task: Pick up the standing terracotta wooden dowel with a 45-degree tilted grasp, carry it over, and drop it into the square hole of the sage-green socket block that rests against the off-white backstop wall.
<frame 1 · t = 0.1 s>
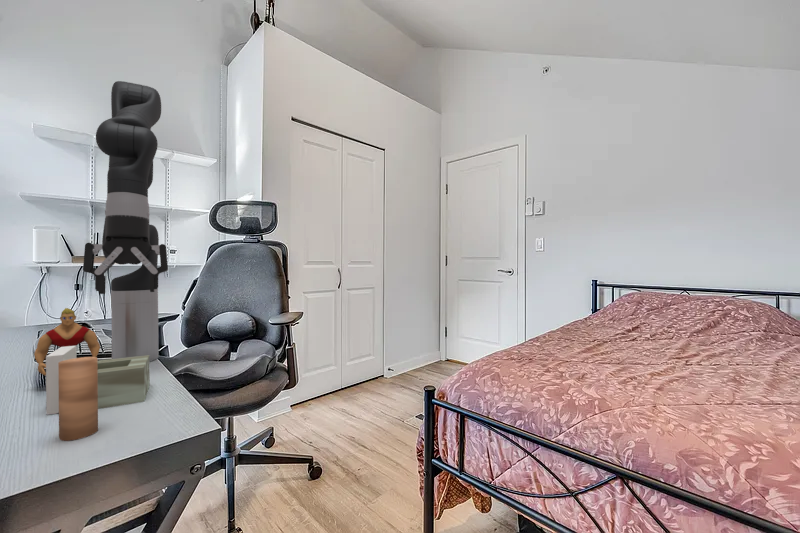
hand: (127, 292, 77), 17 cm above the table, tool pointing down, fingers open, 8 cm apart
backstop wall: (62, 405, 60), on the table
dowel: (79, 433, 50), on the table
action figure: (68, 386, 71), on the table
socket block: (112, 399, 64), on the table
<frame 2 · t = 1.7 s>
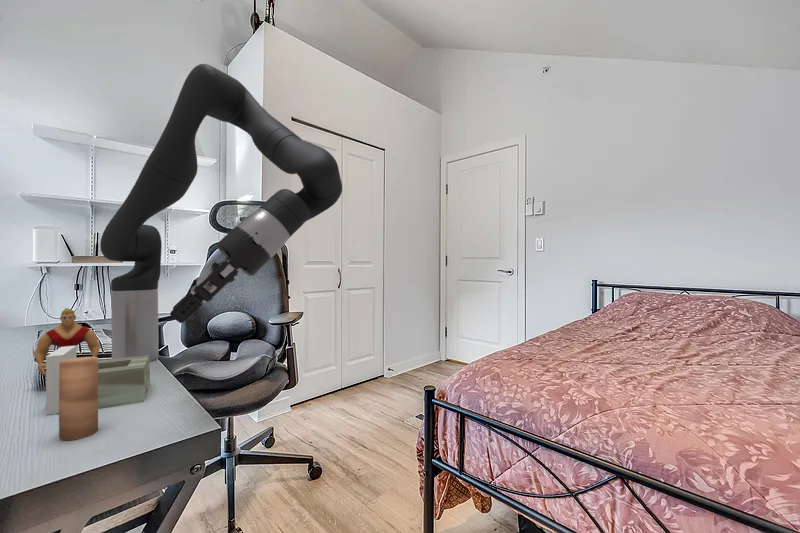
hand: (176, 315, 56), 15 cm above the table, tool tilted 45°, fingers open, 8 cm apart
nothing on the table moved.
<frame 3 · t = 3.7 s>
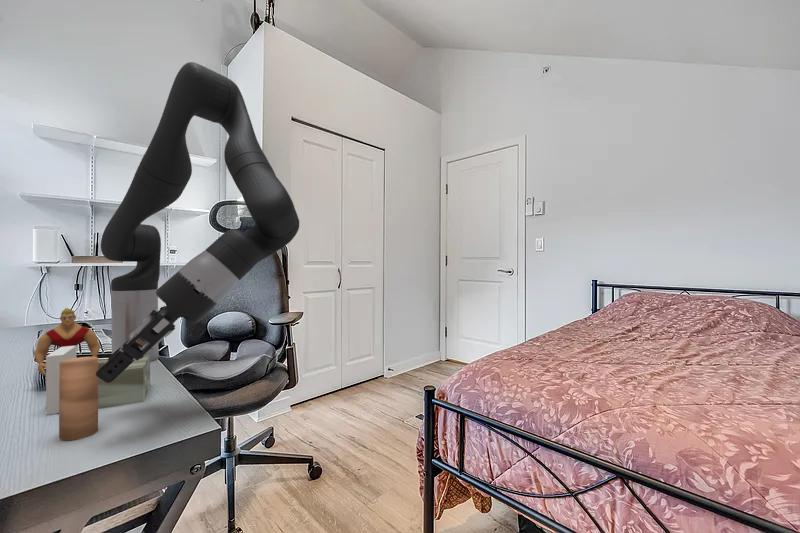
hand: (107, 370, 52), 8 cm above the table, tool tilted 45°, fingers open, 8 cm apart
nothing on the table moved.
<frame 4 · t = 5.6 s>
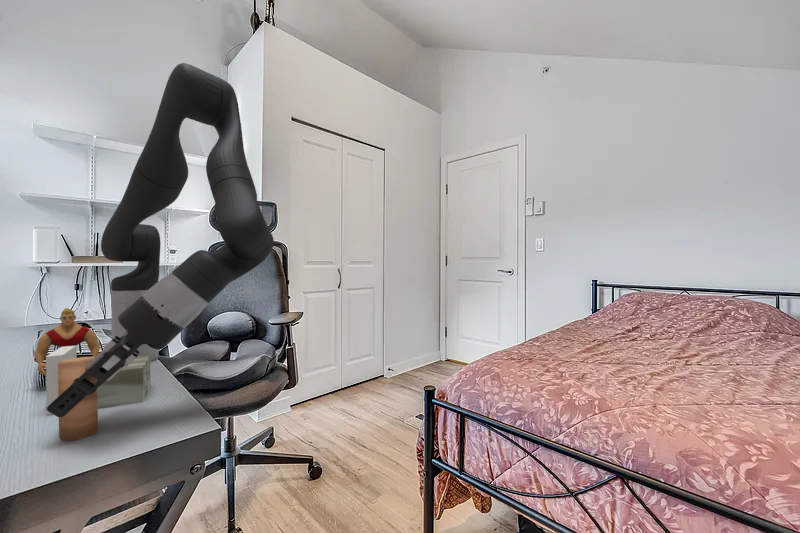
hand: (59, 406, 49), 4 cm above the table, tool tilted 45°, fingers closed on dowel, 4 cm apart
dowel: (79, 433, 50), on the table, touching gripper
everything else where it was.
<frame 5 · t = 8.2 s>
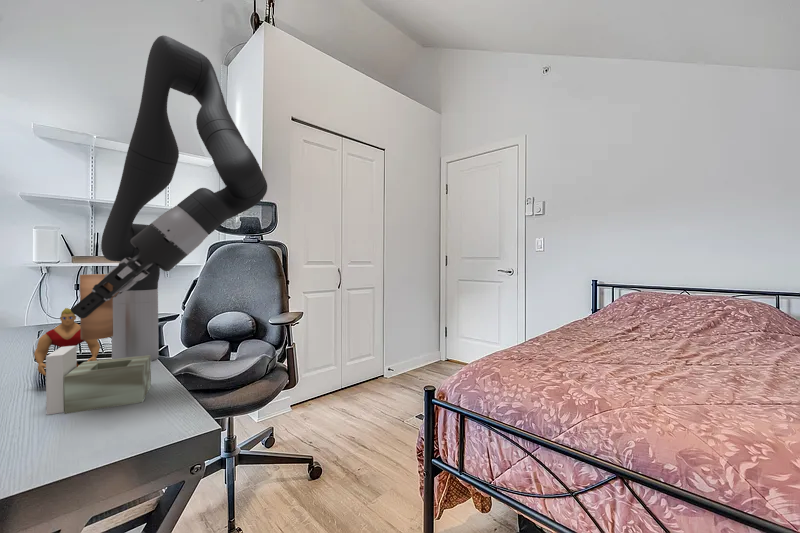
hand: (81, 312, 57), 16 cm above the table, tool tilted 45°, fingers closed on dowel, 4 cm apart
dowel: (97, 337, 58), point 12 cm above the table, touching gripper
everything else where it was.
when the fingers open (9 cm above the table, at t = 10.9 s): dowel drops 3 cm, resting on socket block.
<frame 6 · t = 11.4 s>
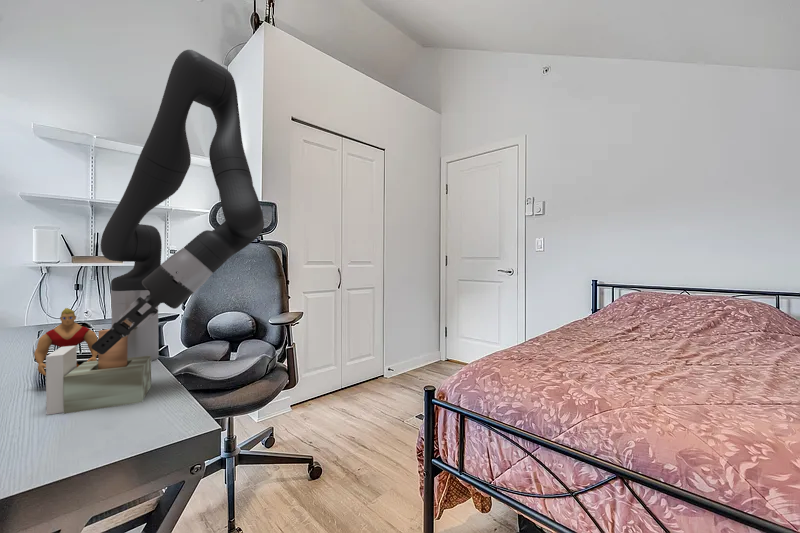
hand: (101, 346, 63), 9 cm above the table, tool tilted 45°, fingers open, 8 cm apart
dowel: (112, 387, 64), point 2 cm above the table, touching socket block
socket block: (112, 399, 64), on the table, touching dowel
everything else where it was.
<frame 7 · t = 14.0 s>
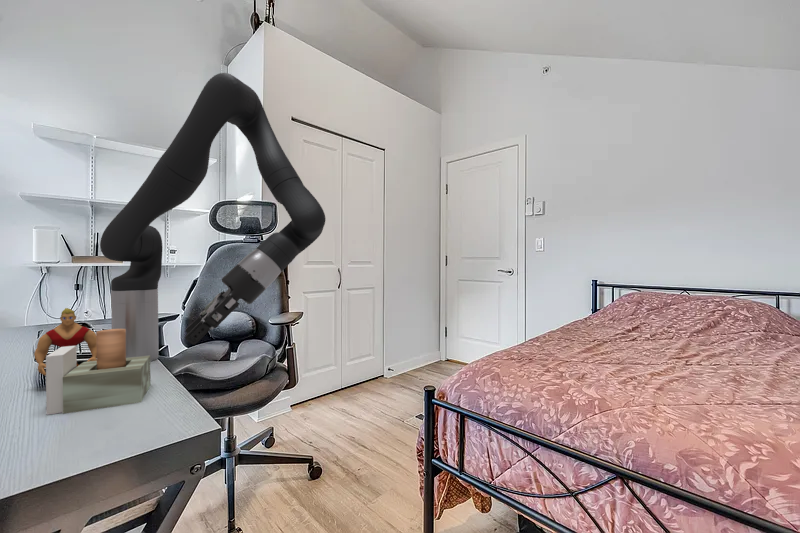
hand: (188, 337, 69), 9 cm above the table, tool tilted 45°, fingers open, 8 cm apart
nothing on the table moved.
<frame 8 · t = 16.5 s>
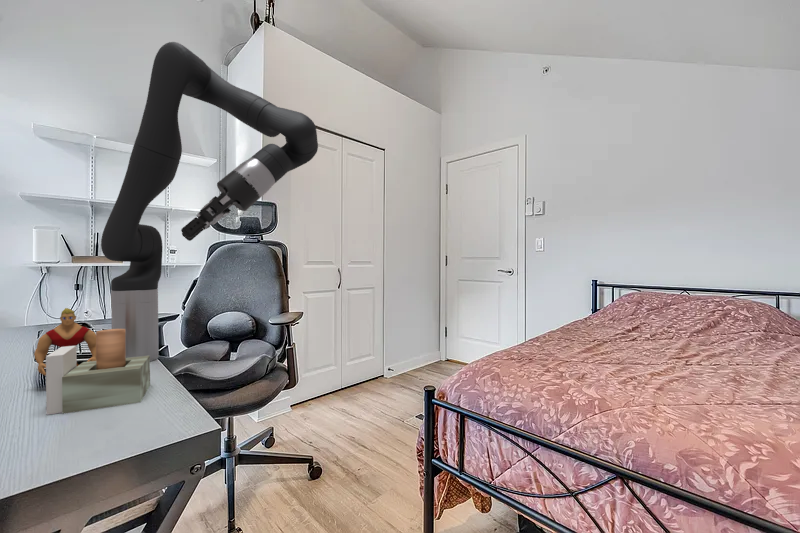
hand: (185, 236, 72), 29 cm above the table, tool tilted 45°, fingers open, 8 cm apart
nothing on the table moved.
at the end: dowel 0.1 cm off-centre on the socket block, point 2.0 cm above the socket block's base; dowel tilted 1°; the gripper is holding nothing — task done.
